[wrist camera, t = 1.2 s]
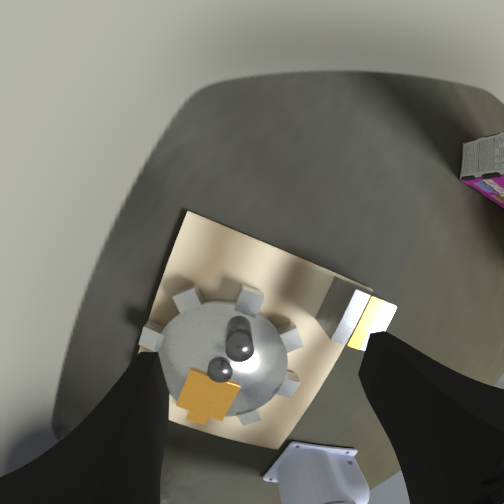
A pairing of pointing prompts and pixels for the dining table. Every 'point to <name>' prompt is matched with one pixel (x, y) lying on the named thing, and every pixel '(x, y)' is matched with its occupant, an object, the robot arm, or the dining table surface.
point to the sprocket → (223, 355)
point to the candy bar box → (485, 166)
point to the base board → (274, 307)
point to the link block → (353, 313)
